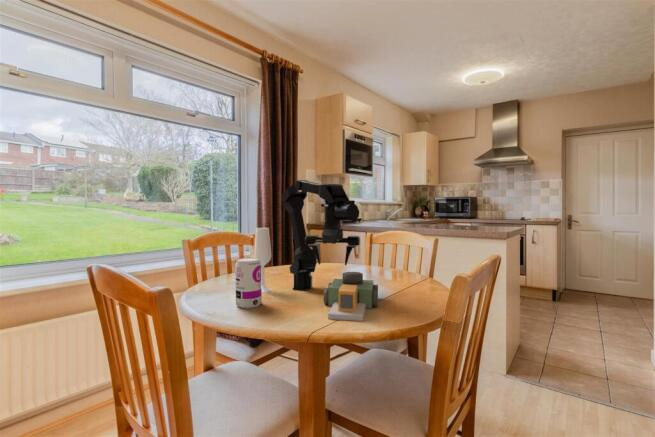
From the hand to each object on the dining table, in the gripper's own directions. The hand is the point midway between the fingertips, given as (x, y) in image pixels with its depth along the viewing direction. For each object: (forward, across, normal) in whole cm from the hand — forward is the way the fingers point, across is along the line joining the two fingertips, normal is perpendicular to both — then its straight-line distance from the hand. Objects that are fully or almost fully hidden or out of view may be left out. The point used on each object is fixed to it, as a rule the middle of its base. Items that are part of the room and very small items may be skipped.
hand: (332, 264), depth 116 cm
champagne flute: (+12, -28, +6) cm, 31 cm away
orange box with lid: (+10, +7, -13) cm, 18 cm away
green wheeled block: (+12, +7, -8) cm, 16 cm away
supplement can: (+12, -26, -12) cm, 31 cm away
